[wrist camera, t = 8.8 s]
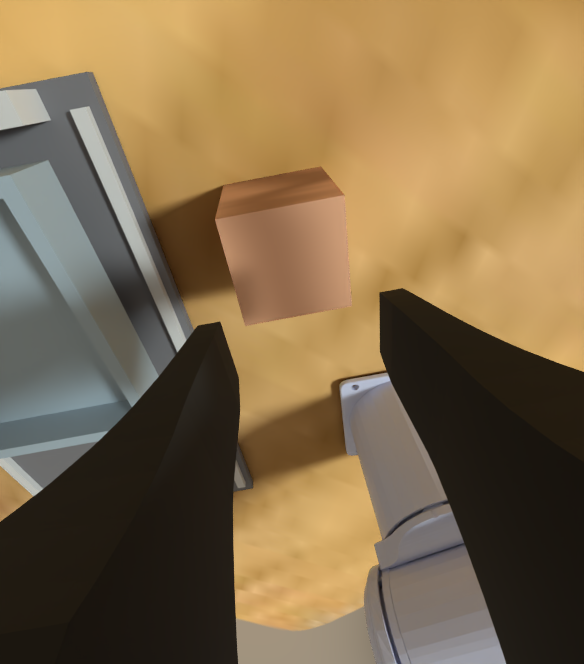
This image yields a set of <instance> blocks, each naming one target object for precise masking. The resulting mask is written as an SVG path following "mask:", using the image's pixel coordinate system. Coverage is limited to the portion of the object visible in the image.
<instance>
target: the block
mask: <svg viewBox="0 0 584 664" xmlns="http://www.w3.org/2000/svg"><path fill="white" fill-rule="evenodd" d="M215 222H216V225H217V229H218V232H219V236H220V239H221V243H222V246H223V250H224V253H225V257H226V260H227V264H228V267H229V271H230V274H231V277H232V281H233V284H234V288H235V291H236V295H237V298H238V302H239V305H240V309H241V312H242V316H243V319H244V323H245V326H247V325H252V324H258V323H263V322H269V321H274V320H279V319H285V318H290V317H296V316H301V315H306V314H312V313H317V312H323V311H328V310H333V309H339V308H344V307H350V306H352V301H351V285H350V270H349V255H348V240H347V225H346V210H345V195H344V194H343V193H342V191H341V190H340V189H339V188H338V187H337V185H336V184H335V183H334V182H333V181H332V179H331V178H330V177H329V176H328V175H327V173H326V172H325V171H324V170H323V169H322V167H316V168H311V169H306V170H300V171H295V172H290V173H285V174H279V175H274V176H269V177H263V178H258V179H253V180H248V181H242V182H237V183H232V184H227V185H223V189H222V193H221V197H220V201H219V205H218V209H217V213H216V217H215Z"/></svg>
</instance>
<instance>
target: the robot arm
mask: <svg viewBox="0 0 584 664" xmlns="http://www.w3.org/2000/svg"><path fill="white" fill-rule="evenodd" d="M380 353H381V356H382V359H383V362H384V365H385V367H386V370H387V373H382V374H376V375H371V376H365V377H360V378H354V379H349V380H344V381H342V382H341V383H340V385H339V389H340V399H341V408H342V418H343V427H344V437H345V447H346V452H347V454H348V455H351V456H352V455H358V456H359V460H360V463H361V467H362V470H363V474H364V477H365V481H366V484H367V488H368V491H369V494H370V498H371V501H372V505H373V508H374V512H375V515H376V519H377V522H378V526H379V529H380V533H381V536H382V541H380V542H377V543H375V545H374V546H375V550H376V554H377V557H378V561H379V564H378V565H376V566H373V567H372V568H371V569H370V571H369V574H368V578H367V583H366V586H365V591H364V609H365V617H366V624H367V629H368V634H369V638H370V643H371V647H372V650H373V654H374V658H375V660H376V664H584V372H582V371H579V370H576V369H574V368H571V367H568V366H565V365H562V364H559V363H556V362H554V361H551V360H549V359H546V358H544V357H541V356H538V355H536V354H533V353H531V352H528V351H525V350H523V349H521V348H518V347H516V346H513V345H511V344H509V343H507V342H504V341H502V340H500V339H498V338H496V337H494V336H492V335H489V334H487V333H485V332H483V331H481V330H479V329H477V328H475V327H473V326H471V325H469V324H467V323H465V322H463V321H461V320H459V319H458V318H456V317H454V316H452V315H450V314H448V313H446V312H445V311H443V310H441V309H439V308H437V307H436V306H434V305H432V304H430V303H429V302H427V301H425V300H423V299H422V298H420V297H418V296H416V295H414V294H413V293H411V292H409V291H407V290H405V289H403V288H402V289H396V290H391V291H385V292H380ZM353 385H356V386H353ZM239 417H240V394H239V377H238V374H237V371H236V368H235V365H234V362H233V359H232V356H231V353H230V350H229V347H228V344H227V341H226V338H225V335H224V332H223V329H222V326H221V323H220V322H216V323H210V324H205V325H199V326H197V327H196V329H195V330H194V331H193V332H192V334H191V335H190V336H189V338H188V339H187V340H186V342H185V343H184V344H183V346H182V347H181V348H180V350H179V351H178V352H177V354H176V355H175V356H174V358H173V359H172V360H171V361H170V363H169V364H168V365H167V367H166V368H165V369H164V370H163V372H162V373H161V374H160V376H159V377H158V378H157V379H156V380H155V381H154V383H153V384H152V385H151V386H150V387H149V388H148V389H147V391H146V392H145V393H144V394H143V395H142V396H141V398H140V399H139V400H138V401H137V402H136V403H135V405H134V406H133V407H132V408H131V409H130V410H129V411H128V412H127V413H126V414H125V415H124V416H123V417H122V418H121V419H120V420H119V422H118V423H117V424H116V425H115V426H113V427H112V428H111V429H110V430H109V431H108V432H107V433H106V434H105V435H104V436H103V437H102V438H101V439H100V440H99V441H98V442H97V443H96V444H95V445H94V446H93V447H92V448H90V449H89V450H88V451H87V452H86V453H85V454H84V455H82V456H81V457H80V458H79V459H78V460H77V461H75V462H74V463H73V464H72V465H71V466H70V467H68V468H67V469H66V470H65V471H64V472H63V473H61V474H60V475H59V476H58V477H57V478H56V479H55V480H53V481H52V482H51V483H50V484H49V485H47V486H46V487H45V488H44V489H42V490H41V491H40V492H39V493H37V494H36V495H35V496H34V497H32V498H31V499H30V500H28V501H27V502H26V503H25V504H23V505H22V506H21V507H19V508H18V509H17V510H16V511H14V512H13V513H12V514H10V515H9V516H8V517H6V518H5V519H3V520H2V521H1V522H0V664H238V656H237V638H236V614H235V590H234V554H233V488H234V476H235V464H236V453H237V442H238V430H239Z"/></svg>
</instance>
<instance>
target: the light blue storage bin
mask: <svg viewBox="0 0 584 664" xmlns="http://www.w3.org/2000/svg"><path fill="white" fill-rule="evenodd" d="M158 377H159V376H158V374H157V372H156V370H155V368H154V366H153V364H152V362H151V360H150V358H149V356H148V354H147V352H146V350H145V348H144V346H143V344H142V342H141V340H140V338H139V336H138V335H137V333H136V331H135V329H134V327H133V325H132V323H131V321H130V319H129V317H128V315H127V313H126V311H125V309H124V307H123V305H122V303H121V301H120V299H119V297H118V295H117V294H116V292H115V290H114V288H113V286H112V284H111V282H110V280H109V278H108V276H107V274H106V272H105V270H104V268H103V266H102V264H101V262H100V260H99V258H98V256H97V254H96V253H95V251H94V249H93V247H92V245H91V243H90V241H89V239H88V237H87V235H86V233H85V231H84V229H83V227H82V225H81V223H80V221H79V219H78V217H77V215H76V214H75V212H74V210H73V208H72V206H71V204H70V202H69V200H68V198H67V196H66V194H65V192H64V190H63V188H62V186H61V184H60V182H59V180H58V178H57V176H56V174H55V173H54V171H53V169H52V167H51V165H50V163H49V161H48V160H45V161H40V162H35V163H29V164H24V165H19V166H13V167H8V168H3V169H0V459H2V458H8V457H13V456H19V455H24V454H30V453H35V452H41V451H46V450H52V449H58V448H63V447H69V446H74V445H80V444H85V443H91V442H97V441H99V440H100V439H101V438H102V437H103V436H104V435H105V434H106V433H107V432H108V431H109V430H110V429H111V428H112V427H113V426H115V425H116V424H117V423H118V422H119V420H120V419H121V418H122V417H123V416H124V415H125V414H126V413H127V412H128V411H129V410H130V409H131V408H132V407H133V406H134V405H135V403H136V402H137V401H138V400H139V399H140V398H141V396H142V395H143V394H144V393H145V392H146V391H147V389H148V388H149V387H150V386H151V385H152V384H153V383H154V381H155V380H156V379H157V378H158Z"/></svg>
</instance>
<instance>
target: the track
mask: <svg viewBox="0 0 584 664" xmlns="http://www.w3.org/2000/svg"><path fill="white" fill-rule="evenodd" d="M45 160H48V161H49V163H50V165H51V167H52V169H53V171H54V173H55V174H56V176H57V178H58V180H59V182H60V184H61V186H62V188H63V190H64V192H65V194H66V196H67V198H68V200H69V202H70V204H71V206H72V208H73V210H74V212H75V214H76V215H77V217H78V219H79V221H80V223H81V225H82V227H83V229H84V231H85V233H86V235H87V237H88V239H89V241H90V243H91V245H92V247H93V249H94V251H95V253H96V254H97V256H98V258H99V260H100V262H101V264H102V266H103V268H104V270H105V272H106V274H107V276H108V278H109V280H110V282H111V284H112V286H113V288H114V290H115V292H116V294H117V295H118V297H119V299H120V301H121V303H122V305H123V307H124V309H125V311H126V313H127V315H128V317H129V319H130V321H131V323H132V325H133V327H134V329H135V331H136V333H137V335H138V336H139V338H140V340H141V342H142V344H143V346H144V348H145V350H146V352H147V354H148V356H149V358H150V360H151V362H152V364H153V366H154V368H155V370H156V372H157V374H158V376H160V374H161V373H162V372H163V370H164V369H165V368H166V367H167V365H168V364H169V363H170V361H171V360H172V359H173V358H174V356H175V355H176V354H177V352H178V351H179V350H180V348H181V347H182V346H183V344H184V343H185V342H186V340H187V339H188V338H189V336H190V335H191V334H192V332H193V331H194V330H193V327H192V325H191V322H190V320H189V317H188V314H187V312H186V309H185V307H184V304H183V302H182V299H181V297H180V294H179V291H178V289H177V286H176V284H175V281H174V279H173V276H172V274H171V271H170V269H169V266H168V263H167V261H166V258H165V256H164V253H163V251H162V248H161V246H160V243H159V240H158V238H157V235H156V233H155V230H154V228H153V225H152V223H151V220H150V217H149V215H148V212H147V210H146V207H145V205H144V202H143V200H142V197H141V195H140V192H139V189H138V187H137V184H136V182H135V179H134V177H133V174H132V172H131V169H130V166H129V164H128V161H127V159H126V156H125V154H124V151H123V149H122V146H121V144H120V141H119V138H118V136H117V133H116V131H115V128H114V126H113V123H112V121H111V118H110V115H109V113H108V110H107V108H106V105H105V103H104V100H103V98H102V95H101V92H100V90H99V87H98V85H97V82H96V80H95V77H94V75H93V72H85V73H79V74H74V75H69V76H64V77H58V78H53V79H48V80H43V81H37V82H32V83H27V84H22V85H17V86H11V87H6V88H1V89H0V169H3V168H8V167H13V166H19V165H24V164H29V163H35V162H40V161H45ZM97 442H98V441H97ZM97 442H91V443H85V444H80V445H74V446H69V447H63V448H58V449H52V450H46V451H41V452H35V453H30V454H24V455H19V456H13V457H8V458H2V459H0V466H1V467H2V468H3V469H4V470H6V471H7V472H8V473H9V474H10V475H11V476H12V477H13V478H14V479H15V480H17V481H18V482H19V483H20V484H21V485H22V486H23V487H24V488H25V489H26V490H27V491H29V492H30V493H31V494H32V495H33V496H35V495H36V494H37V493H39V492H40V491H41V490H42V489H44V488H45V487H46V486H47V485H49V484H50V483H51V482H52V481H53V480H55V479H56V478H57V477H58V476H59V475H60V474H61V473H63V472H64V471H65V470H66V469H67V468H68V467H70V466H71V465H72V464H73V463H74V462H75V461H77V460H78V459H79V458H80V457H81V456H82V455H84V454H85V453H86V452H87V451H88V450H89V449H90V448H92V447H93V446H94V445H95V444H96V443H97ZM251 488H253V480H252V478H251V475H250V473H249V470H248V467H247V465H246V462H245V460H244V457H243V455H242V452H241V450H240V447H239V445H238V442H237V453H236V464H235V476H234V488H233V492H235V491H240V490H246V489H251Z"/></svg>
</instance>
